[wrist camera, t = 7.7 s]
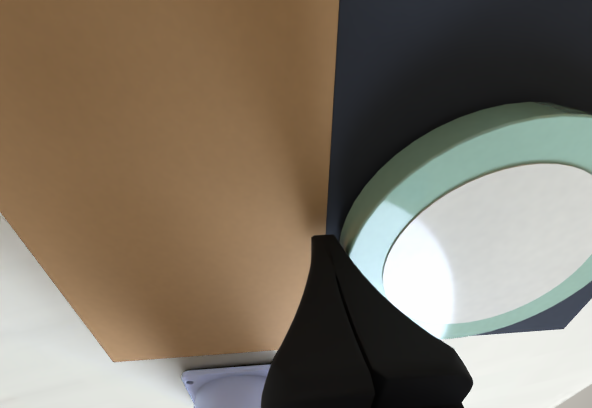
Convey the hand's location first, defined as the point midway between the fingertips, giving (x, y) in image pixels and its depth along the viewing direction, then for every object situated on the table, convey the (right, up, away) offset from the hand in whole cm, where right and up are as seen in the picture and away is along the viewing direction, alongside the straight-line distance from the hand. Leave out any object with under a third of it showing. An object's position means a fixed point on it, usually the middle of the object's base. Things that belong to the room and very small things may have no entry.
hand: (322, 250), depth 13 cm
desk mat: (+2, +1, +1) cm, 3 cm away
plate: (+7, +1, +1) cm, 7 cm away
